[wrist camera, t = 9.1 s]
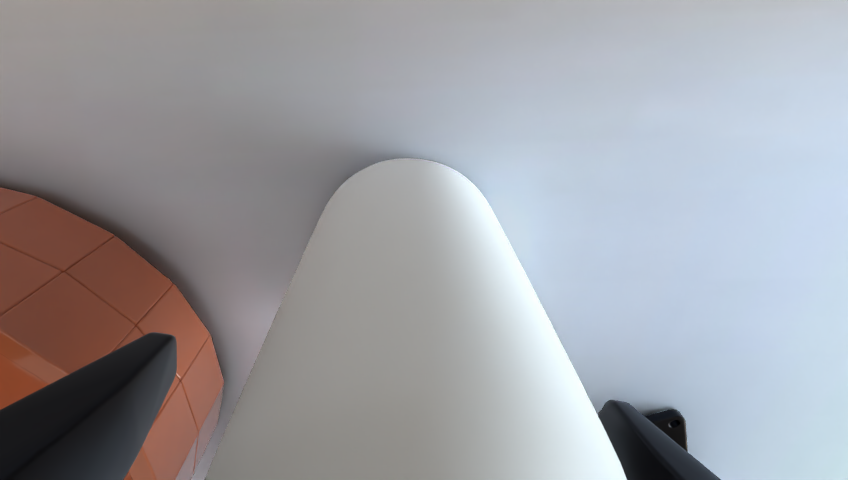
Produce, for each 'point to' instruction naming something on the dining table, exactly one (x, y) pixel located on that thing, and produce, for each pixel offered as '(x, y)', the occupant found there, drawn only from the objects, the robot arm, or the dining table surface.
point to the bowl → (99, 324)
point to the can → (412, 351)
